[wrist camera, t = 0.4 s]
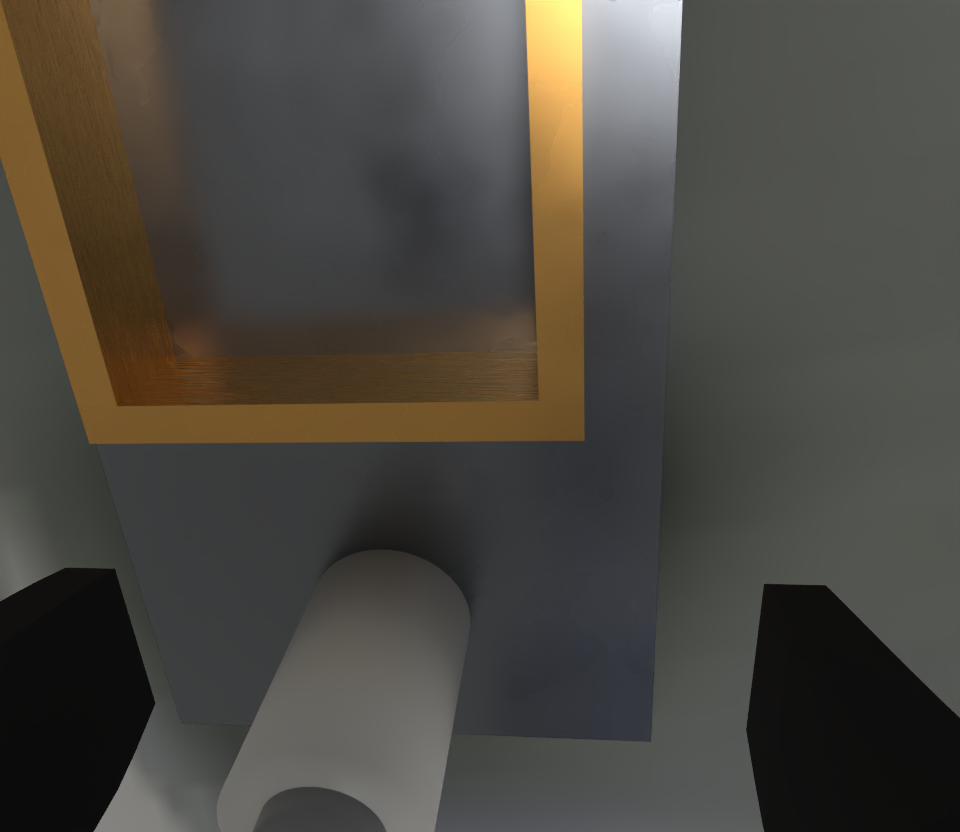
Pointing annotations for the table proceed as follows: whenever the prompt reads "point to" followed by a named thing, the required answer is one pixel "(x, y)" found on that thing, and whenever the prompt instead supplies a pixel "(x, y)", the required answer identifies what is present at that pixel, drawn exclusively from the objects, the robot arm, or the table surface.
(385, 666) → the canister
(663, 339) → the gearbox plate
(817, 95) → the table surface
